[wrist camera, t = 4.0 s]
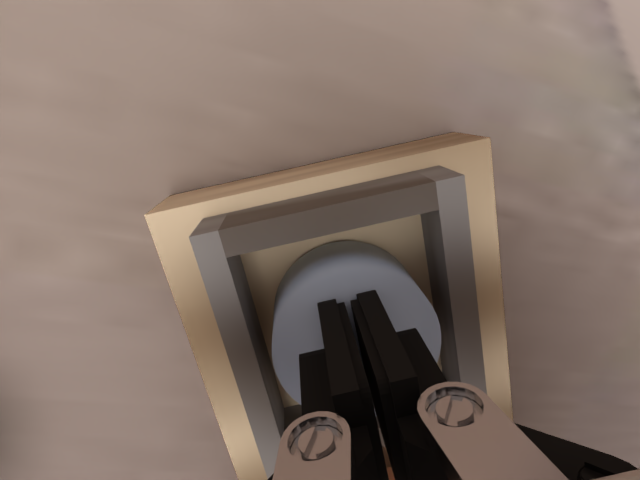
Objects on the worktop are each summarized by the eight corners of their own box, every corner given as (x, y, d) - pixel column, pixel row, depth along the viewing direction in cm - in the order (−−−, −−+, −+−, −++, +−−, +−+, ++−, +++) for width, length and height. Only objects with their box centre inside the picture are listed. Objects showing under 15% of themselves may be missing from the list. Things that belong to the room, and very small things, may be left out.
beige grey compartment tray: (501, 578, 24) (555, 697, 19) (311, 623, 24) (317, 753, 19) (453, 132, 16) (524, 142, 11) (169, 195, 16) (119, 233, 11)
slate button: (439, 325, 15) (469, 367, 12) (322, 392, 15) (329, 445, 13) (371, 212, 13) (390, 236, 11) (245, 290, 14) (236, 329, 11)
